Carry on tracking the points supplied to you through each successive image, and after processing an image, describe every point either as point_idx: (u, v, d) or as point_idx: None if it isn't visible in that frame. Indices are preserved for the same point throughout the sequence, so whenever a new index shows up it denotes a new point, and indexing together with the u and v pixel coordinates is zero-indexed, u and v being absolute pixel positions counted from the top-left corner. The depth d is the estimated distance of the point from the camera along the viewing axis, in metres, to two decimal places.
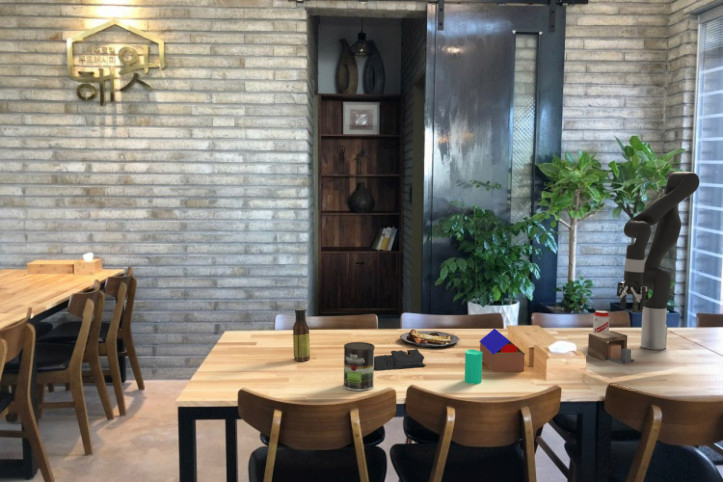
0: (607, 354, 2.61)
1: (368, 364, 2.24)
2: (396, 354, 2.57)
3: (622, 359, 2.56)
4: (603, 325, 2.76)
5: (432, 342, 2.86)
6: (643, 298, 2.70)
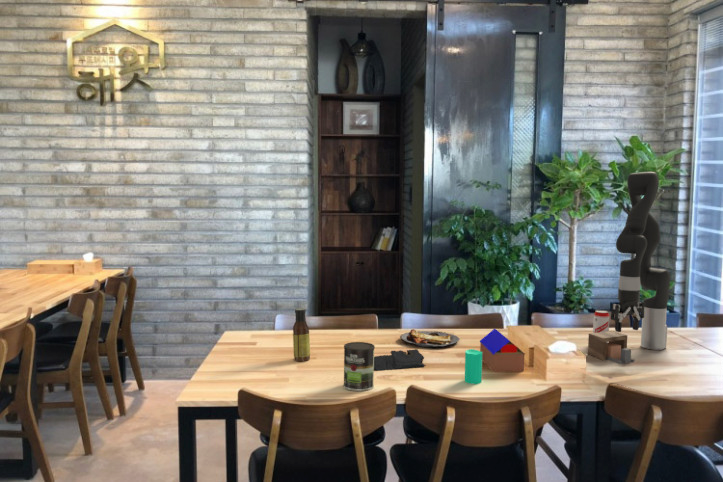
0: (607, 354, 2.61)
1: (368, 364, 2.24)
2: (395, 354, 2.57)
3: (622, 359, 2.56)
4: (603, 325, 2.76)
5: (432, 342, 2.86)
6: (643, 314, 2.56)
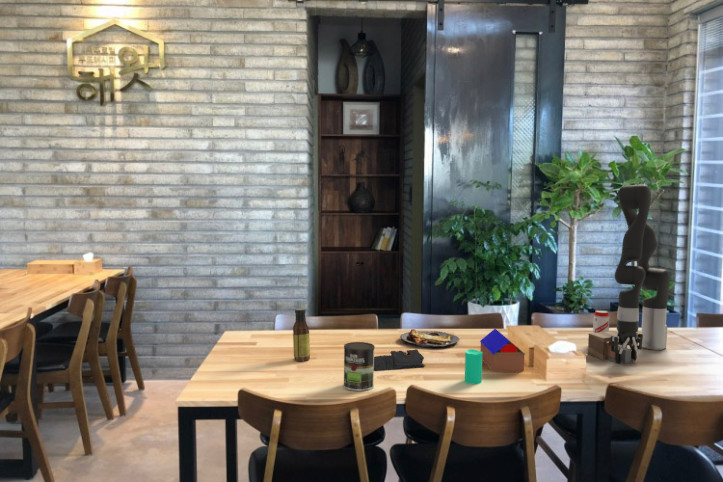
0: (607, 354, 2.61)
1: (368, 364, 2.24)
2: (395, 354, 2.56)
3: (622, 359, 2.56)
4: (603, 325, 2.76)
5: (432, 342, 2.87)
6: (640, 346, 2.57)
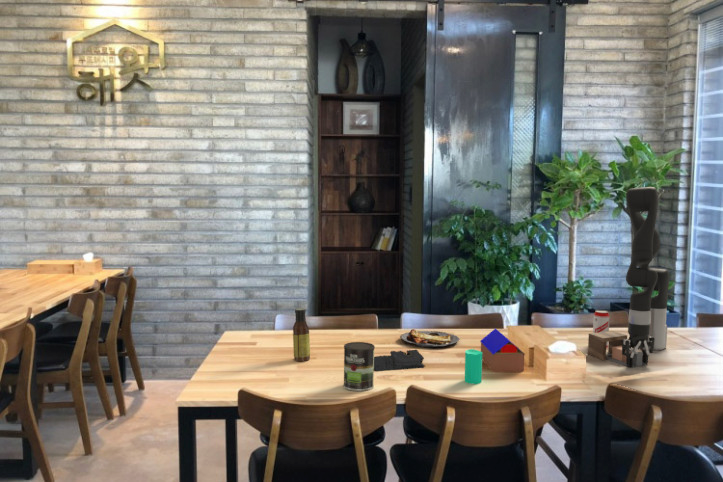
0: (618, 358, 2.56)
1: (368, 364, 2.24)
2: (395, 354, 2.56)
3: (633, 363, 2.51)
4: (603, 325, 2.76)
5: (432, 342, 2.87)
6: (652, 349, 2.52)
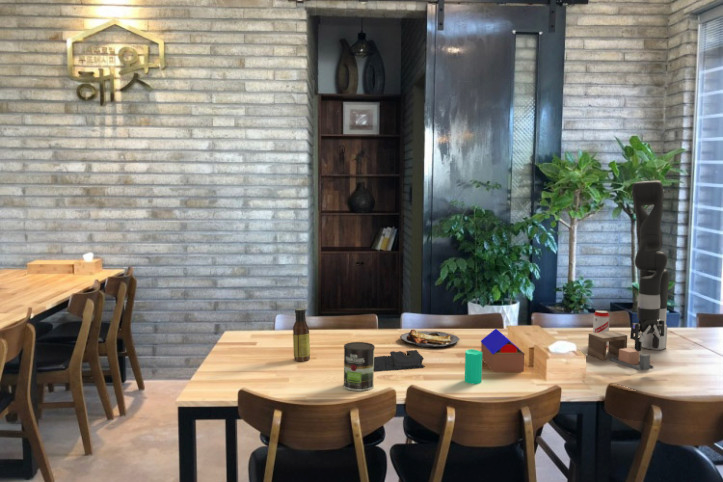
0: (625, 360, 2.53)
1: (368, 364, 2.24)
2: (395, 354, 2.56)
3: (641, 365, 2.48)
4: (603, 325, 2.76)
5: (432, 342, 2.87)
6: (663, 332, 2.48)
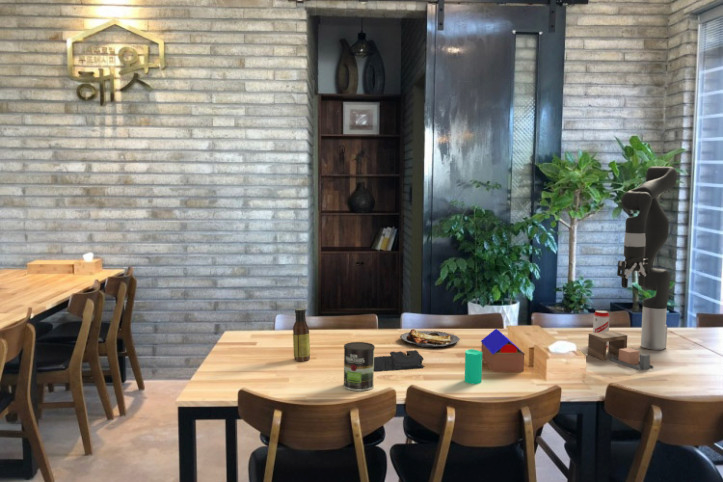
0: (625, 360, 2.53)
1: (368, 364, 2.24)
2: (395, 355, 2.55)
3: (641, 365, 2.48)
4: (603, 325, 2.76)
5: (432, 342, 2.87)
6: (648, 271, 2.60)
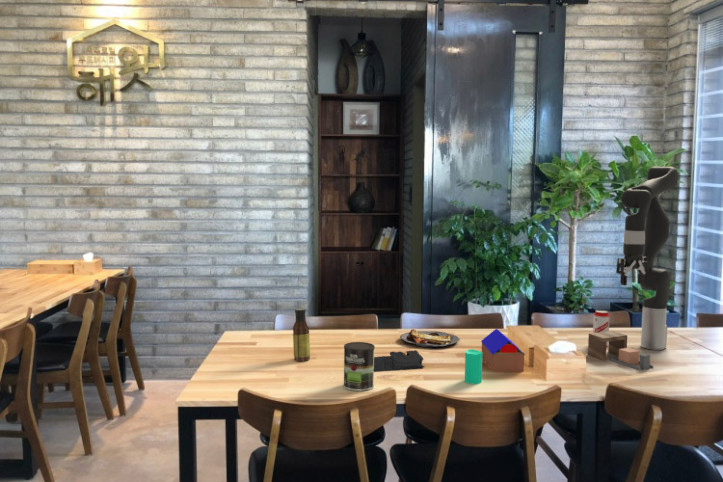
0: (625, 360, 2.53)
1: (368, 364, 2.24)
2: (394, 355, 2.55)
3: (641, 365, 2.48)
4: (603, 325, 2.76)
5: (432, 342, 2.87)
6: (648, 269, 2.61)
